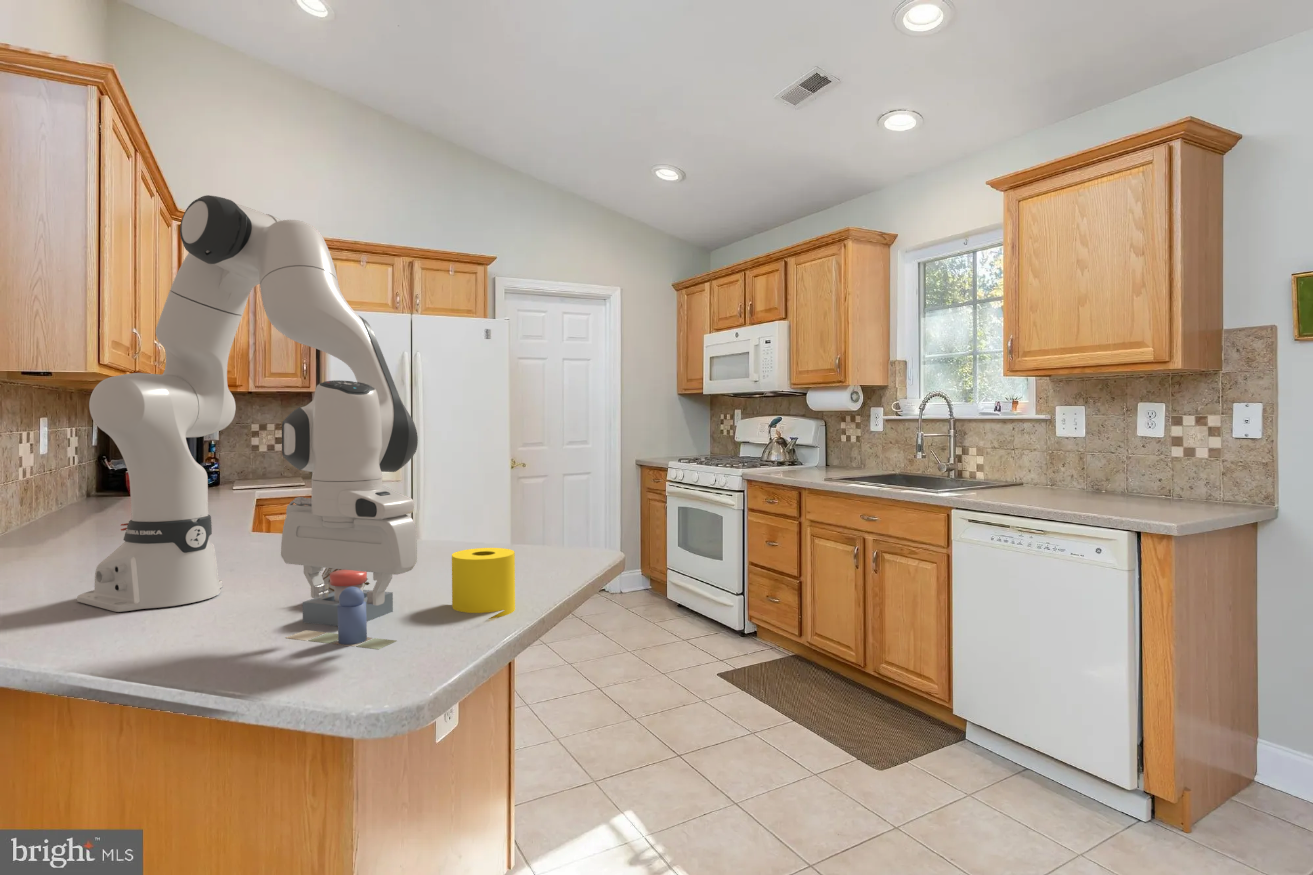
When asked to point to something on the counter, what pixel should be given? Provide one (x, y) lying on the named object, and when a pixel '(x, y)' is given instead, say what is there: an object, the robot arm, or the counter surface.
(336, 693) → the counter surface
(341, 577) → the plunger
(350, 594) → the pawn
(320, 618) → the base
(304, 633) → the track board
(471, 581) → the yellow hollow cylinder
